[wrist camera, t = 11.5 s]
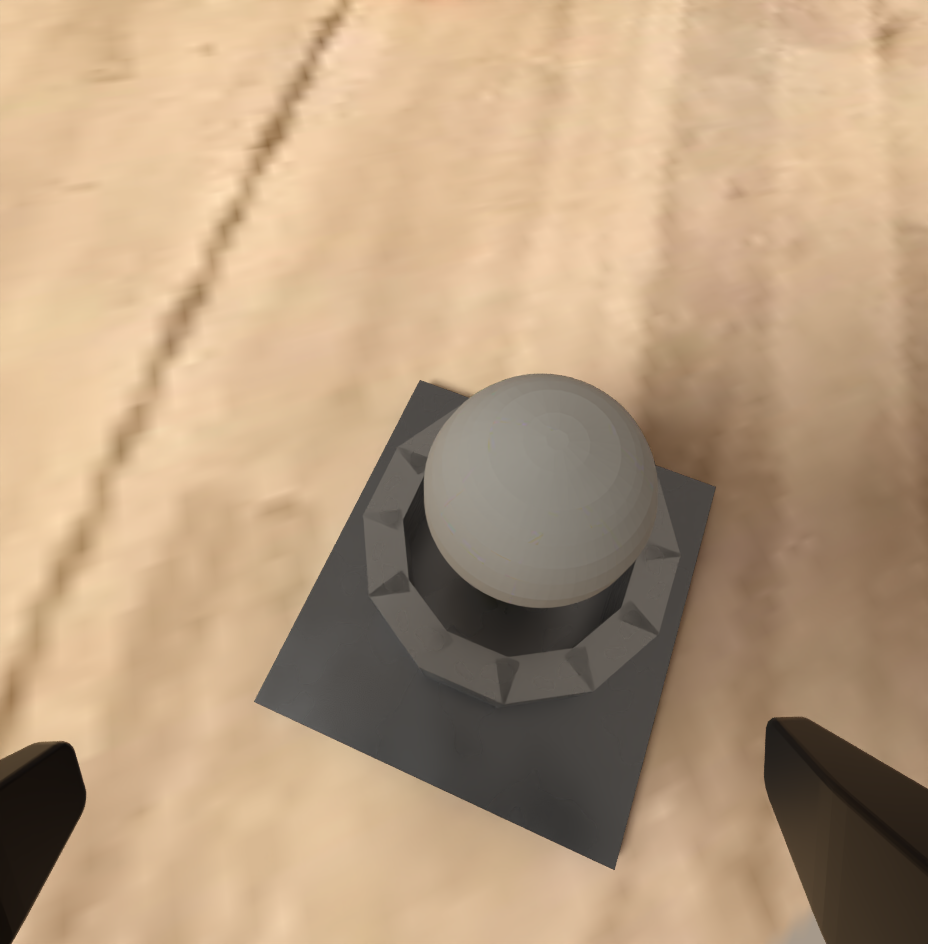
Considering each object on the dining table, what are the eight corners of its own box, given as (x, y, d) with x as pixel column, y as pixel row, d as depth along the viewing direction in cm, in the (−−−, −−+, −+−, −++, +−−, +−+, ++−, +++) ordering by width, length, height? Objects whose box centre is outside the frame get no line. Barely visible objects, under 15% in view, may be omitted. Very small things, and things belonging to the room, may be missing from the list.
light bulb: (425, 498, 22) (409, 333, 13) (572, 485, 22) (661, 317, 13) (437, 652, 20) (429, 591, 11) (599, 636, 20) (729, 562, 11)
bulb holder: (608, 864, 18) (643, 896, 15) (261, 702, 20) (219, 697, 16) (707, 494, 23) (751, 452, 19) (421, 390, 25) (414, 334, 21)
